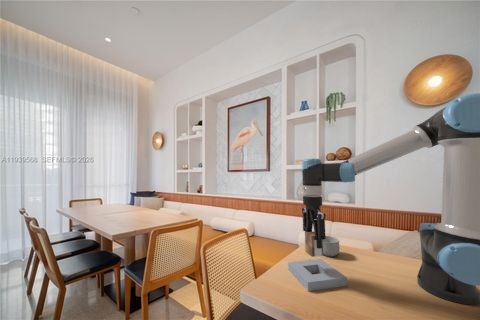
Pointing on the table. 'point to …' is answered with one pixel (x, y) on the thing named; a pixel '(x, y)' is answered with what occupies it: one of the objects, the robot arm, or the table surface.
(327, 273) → the housing
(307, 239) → the peg
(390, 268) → the table surface
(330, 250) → the teacup
